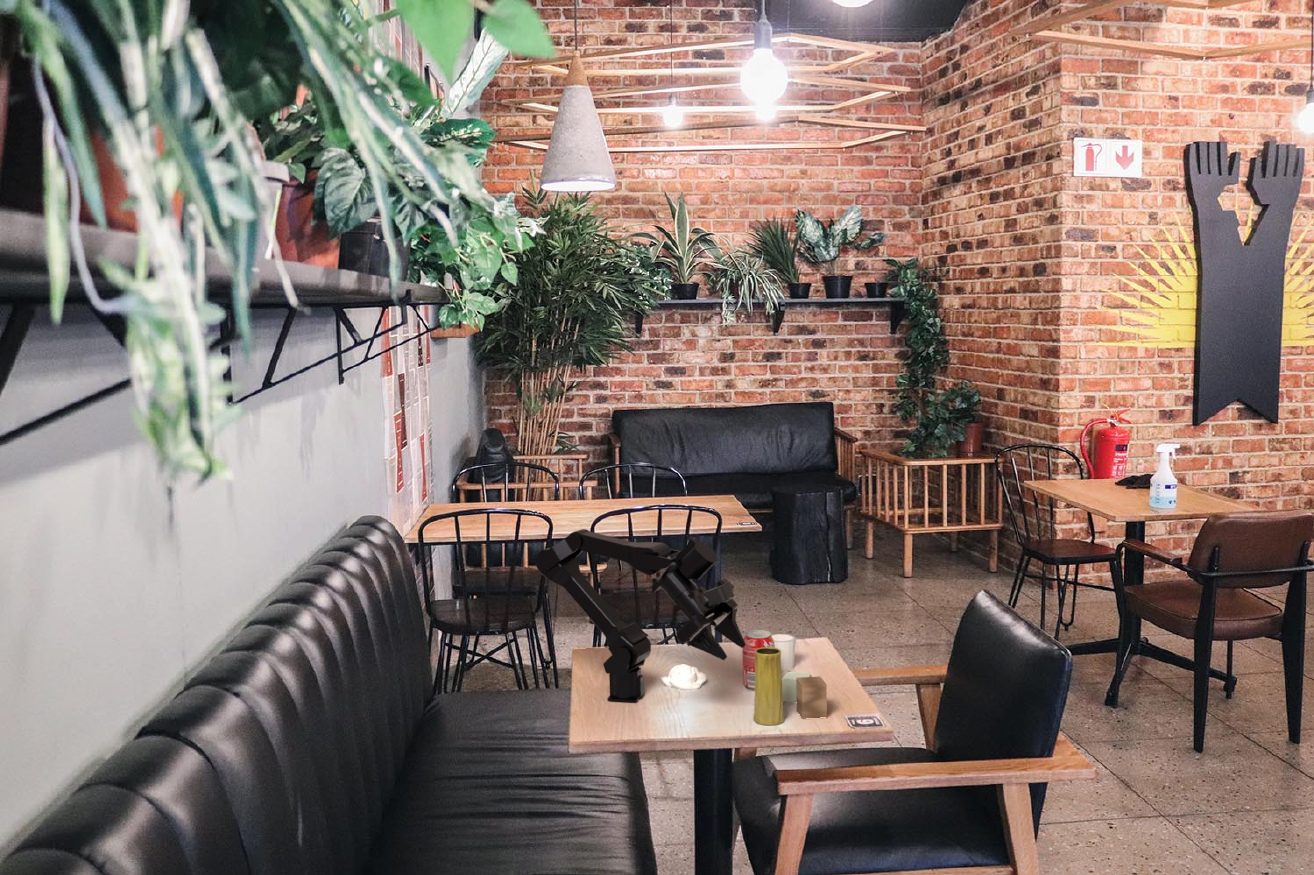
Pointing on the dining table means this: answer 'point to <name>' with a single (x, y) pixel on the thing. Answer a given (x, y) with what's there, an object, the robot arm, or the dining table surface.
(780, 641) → the white cup
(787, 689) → the sage block
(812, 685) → the walnut block
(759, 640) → the soda can
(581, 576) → the robot arm
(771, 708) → the vase
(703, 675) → the rose
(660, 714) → the dining table surface
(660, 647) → the dining table surface
